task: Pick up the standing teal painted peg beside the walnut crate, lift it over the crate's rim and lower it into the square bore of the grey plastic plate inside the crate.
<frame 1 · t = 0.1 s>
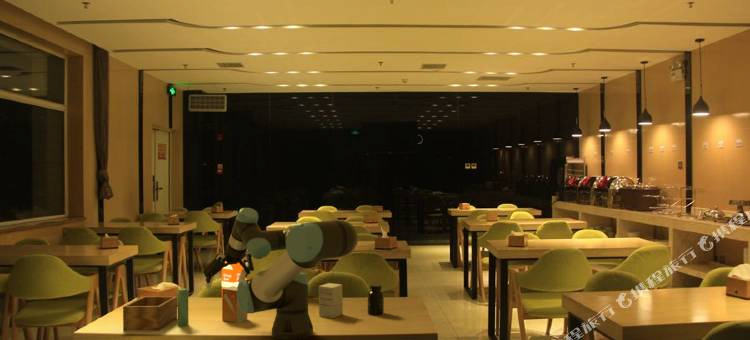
hand: (224, 285, 227), 15 cm above the table, tool tilted 35°, fingers open, 13 cm apart
crate: (151, 324, 229), on the table
orange juice: (234, 298, 275), on the table
peg: (183, 325, 227), on the table
small box: (234, 320, 235), on the table
beige tapered cylinder: (295, 297, 278), on the table
supplement bottle: (375, 314, 244), on the table
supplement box: (330, 315, 241), on the table
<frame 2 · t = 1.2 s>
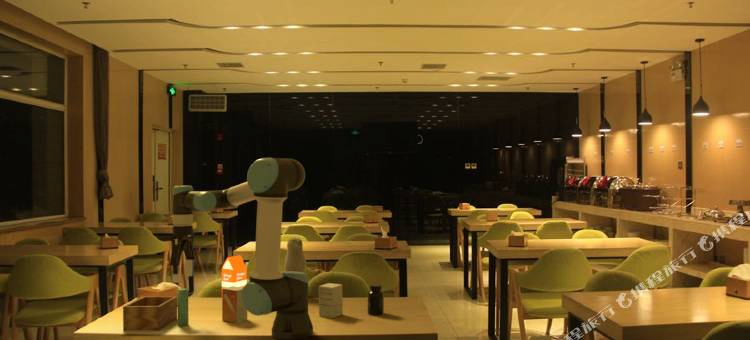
hand: (182, 279, 227), 18 cm above the table, tool pointing down, fingers open, 13 cm apart
nothing on the table moved.
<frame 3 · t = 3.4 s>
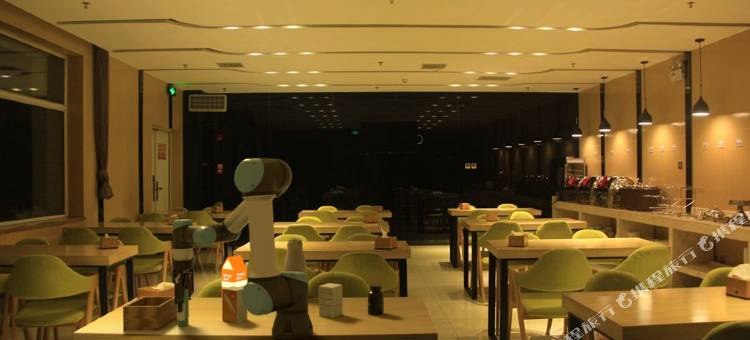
hand: (183, 318, 227), 3 cm above the table, tool pointing down, fingers closed on peg, 4 cm apart
peg: (183, 325, 227), on the table, touching gripper
everything else where it was.
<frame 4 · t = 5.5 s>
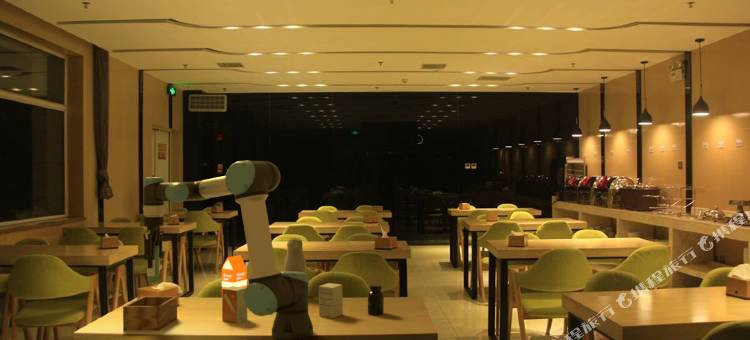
hand: (153, 275, 229), 19 cm above the table, tool pointing down, fingers closed on peg, 4 cm apart
peg: (153, 281, 229), point 17 cm above the table, touching gripper
everything else where it was.
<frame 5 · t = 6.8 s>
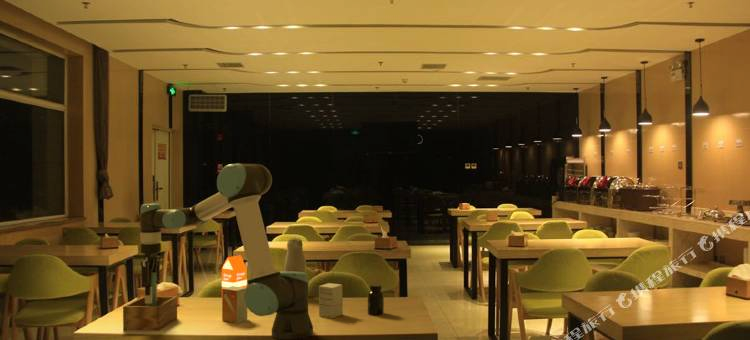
hand: (151, 301, 229), 9 cm above the table, tool pointing down, fingers closed on peg, 4 cm apart
peg: (150, 308, 229), point 6 cm above the table, touching gripper
everything else where it was.
when the fingers open (5 cm above the table, at t = 7.8 s): peg stays where it is, resting on crate.
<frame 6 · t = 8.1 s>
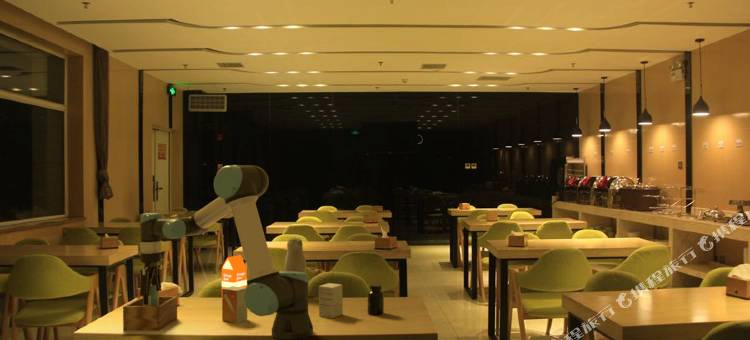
hand: (151, 309, 229), 6 cm above the table, tool pointing down, fingers open, 7 cm apart
peg: (151, 321, 229), point 1 cm above the table, touching crate
everything else where it was.
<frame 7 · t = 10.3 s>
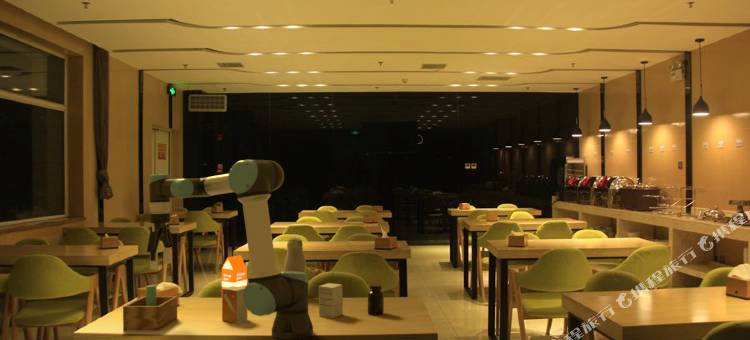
hand: (160, 266, 230), 23 cm above the table, tool pointing down, fingers open, 13 cm apart
nothing on the table moved.
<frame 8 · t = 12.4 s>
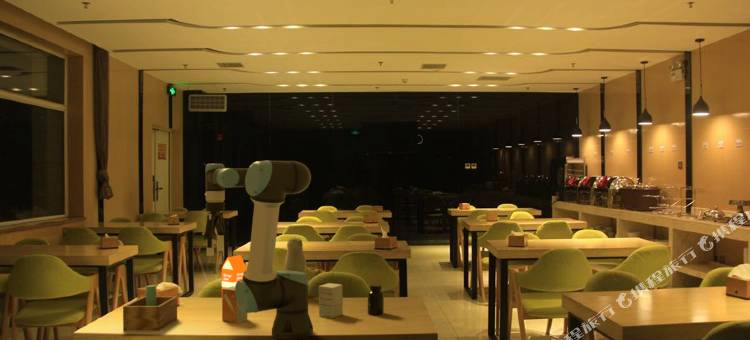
hand: (215, 253, 237), 27 cm above the table, tool pointing down, fingers open, 13 cm apart
nothing on the table moved.
at the end: peg 0.0 cm off-centre on the crate, point 1.0 cm above the crate's base; peg tilted 0°; the gripper is holding nothing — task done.
